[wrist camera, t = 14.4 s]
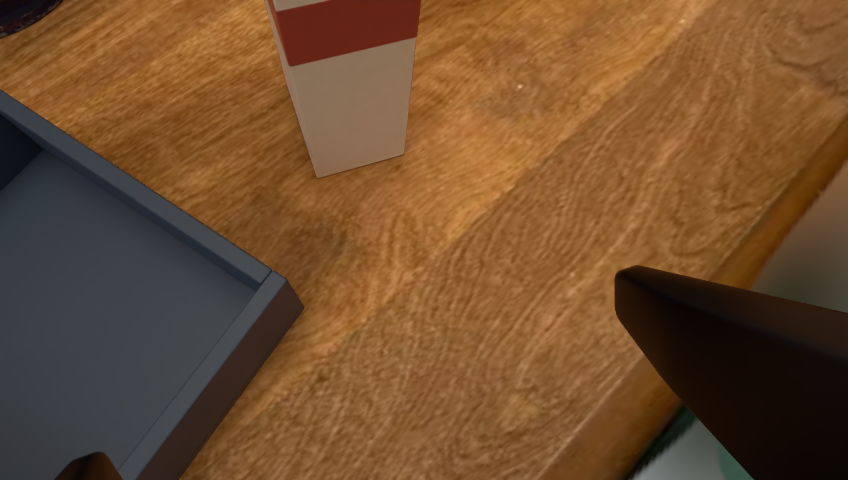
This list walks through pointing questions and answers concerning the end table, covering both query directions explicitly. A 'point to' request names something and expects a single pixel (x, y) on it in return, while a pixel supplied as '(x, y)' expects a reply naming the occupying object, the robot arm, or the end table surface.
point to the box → (116, 313)
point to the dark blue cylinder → (22, 13)
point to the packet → (348, 76)
